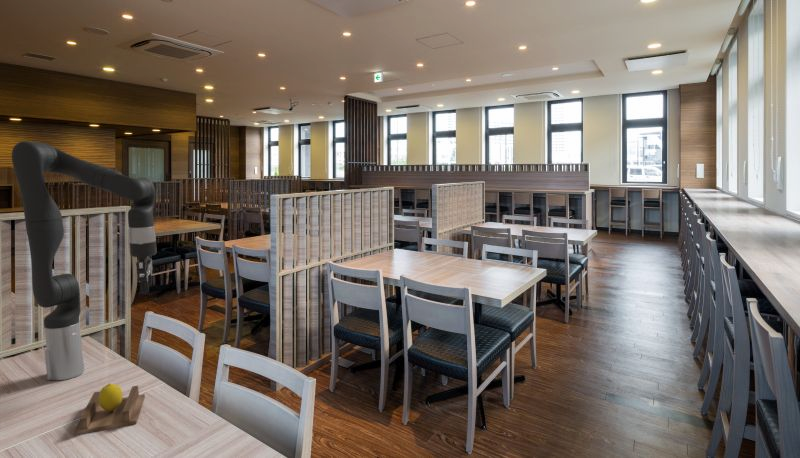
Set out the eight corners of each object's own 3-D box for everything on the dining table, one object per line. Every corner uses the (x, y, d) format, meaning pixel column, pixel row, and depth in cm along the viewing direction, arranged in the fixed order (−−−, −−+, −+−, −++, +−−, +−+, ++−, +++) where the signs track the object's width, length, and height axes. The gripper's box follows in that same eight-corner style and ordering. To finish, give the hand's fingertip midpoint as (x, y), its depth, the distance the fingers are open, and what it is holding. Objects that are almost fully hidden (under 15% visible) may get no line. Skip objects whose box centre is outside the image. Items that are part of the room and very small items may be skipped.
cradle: (74, 435, 117) (72, 420, 116) (89, 406, 131) (88, 393, 130) (136, 423, 122) (135, 409, 121) (144, 397, 136) (143, 384, 135)
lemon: (109, 405, 129) (106, 378, 128) (128, 406, 129) (125, 379, 128) (95, 416, 124) (92, 388, 123) (114, 416, 123) (112, 388, 122)
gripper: (133, 237, 152) (137, 285, 154) (124, 244, 139) (129, 296, 141) (158, 236, 154) (161, 283, 157) (152, 243, 141) (156, 294, 144)
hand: (146, 289), depth 149 cm, fingers open, 8 cm apart
